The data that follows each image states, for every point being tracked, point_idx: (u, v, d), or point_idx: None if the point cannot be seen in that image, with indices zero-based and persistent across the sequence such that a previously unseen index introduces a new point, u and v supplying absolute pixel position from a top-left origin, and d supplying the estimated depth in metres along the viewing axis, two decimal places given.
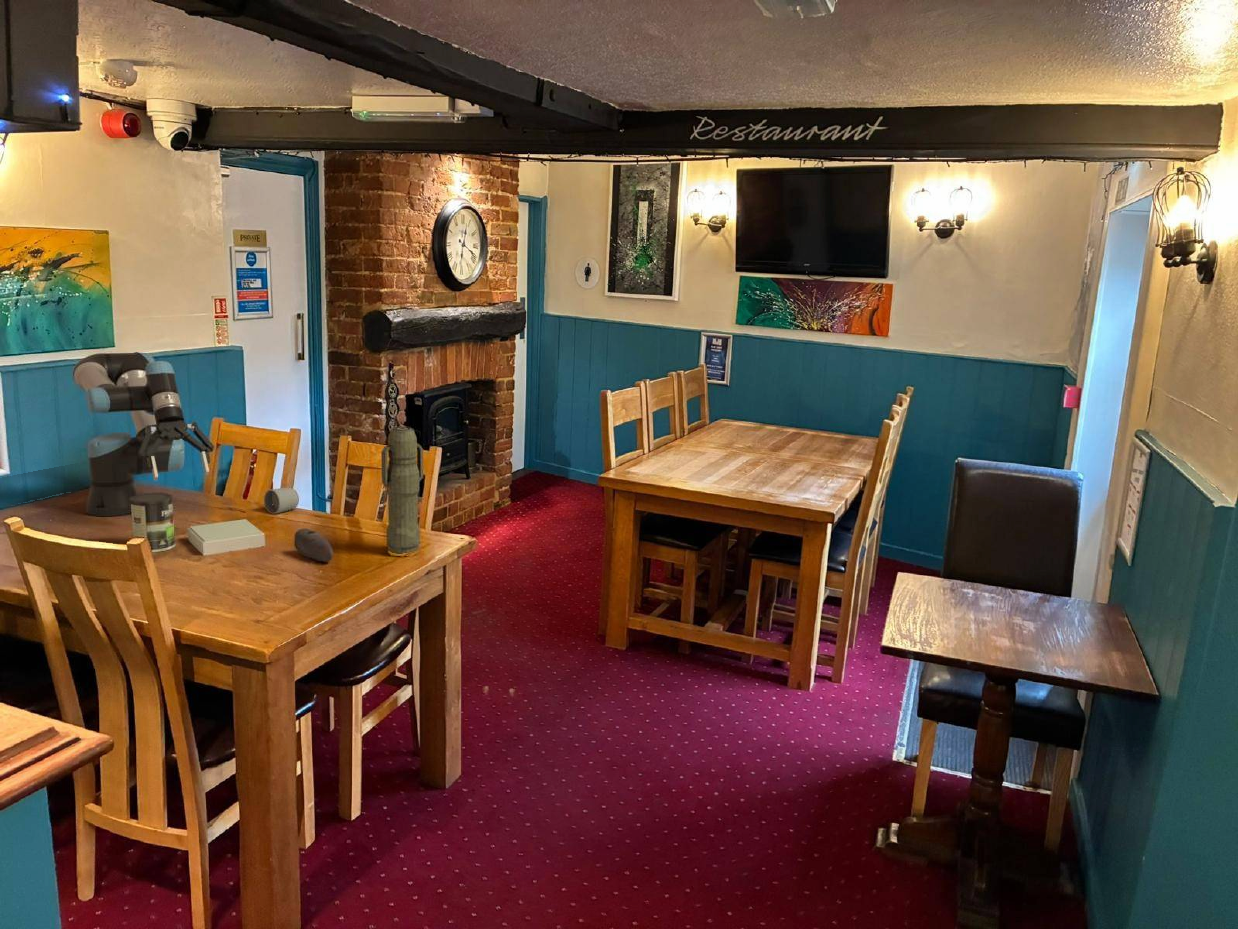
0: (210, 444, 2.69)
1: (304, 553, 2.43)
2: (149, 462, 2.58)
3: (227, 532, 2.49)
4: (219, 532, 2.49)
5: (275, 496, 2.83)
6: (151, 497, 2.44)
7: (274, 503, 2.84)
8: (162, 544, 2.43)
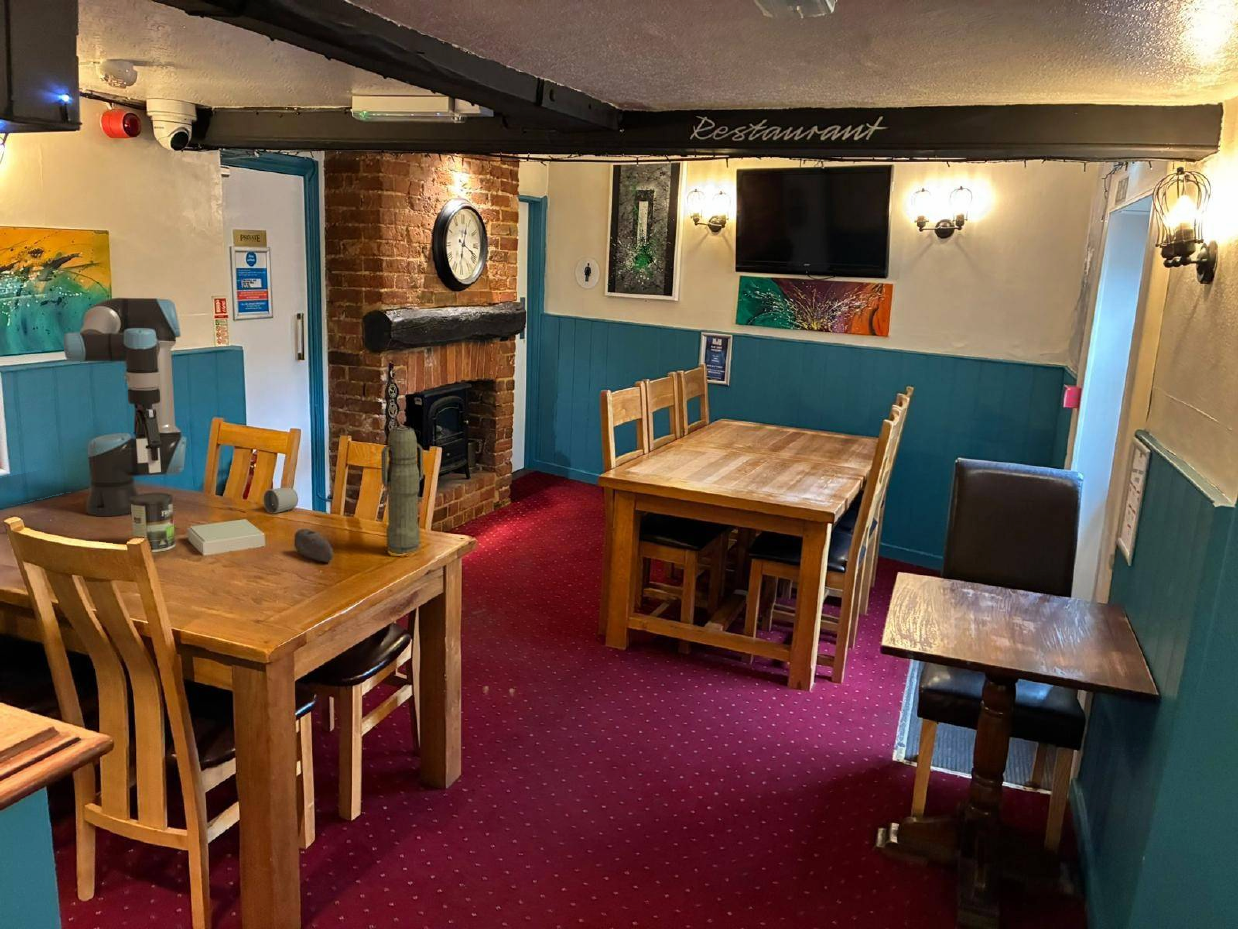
0: (149, 441, 2.33)
1: (304, 553, 2.43)
2: None
3: (227, 532, 2.49)
4: (219, 532, 2.49)
5: (274, 496, 2.83)
6: (151, 497, 2.44)
7: (273, 503, 2.84)
8: (162, 544, 2.43)
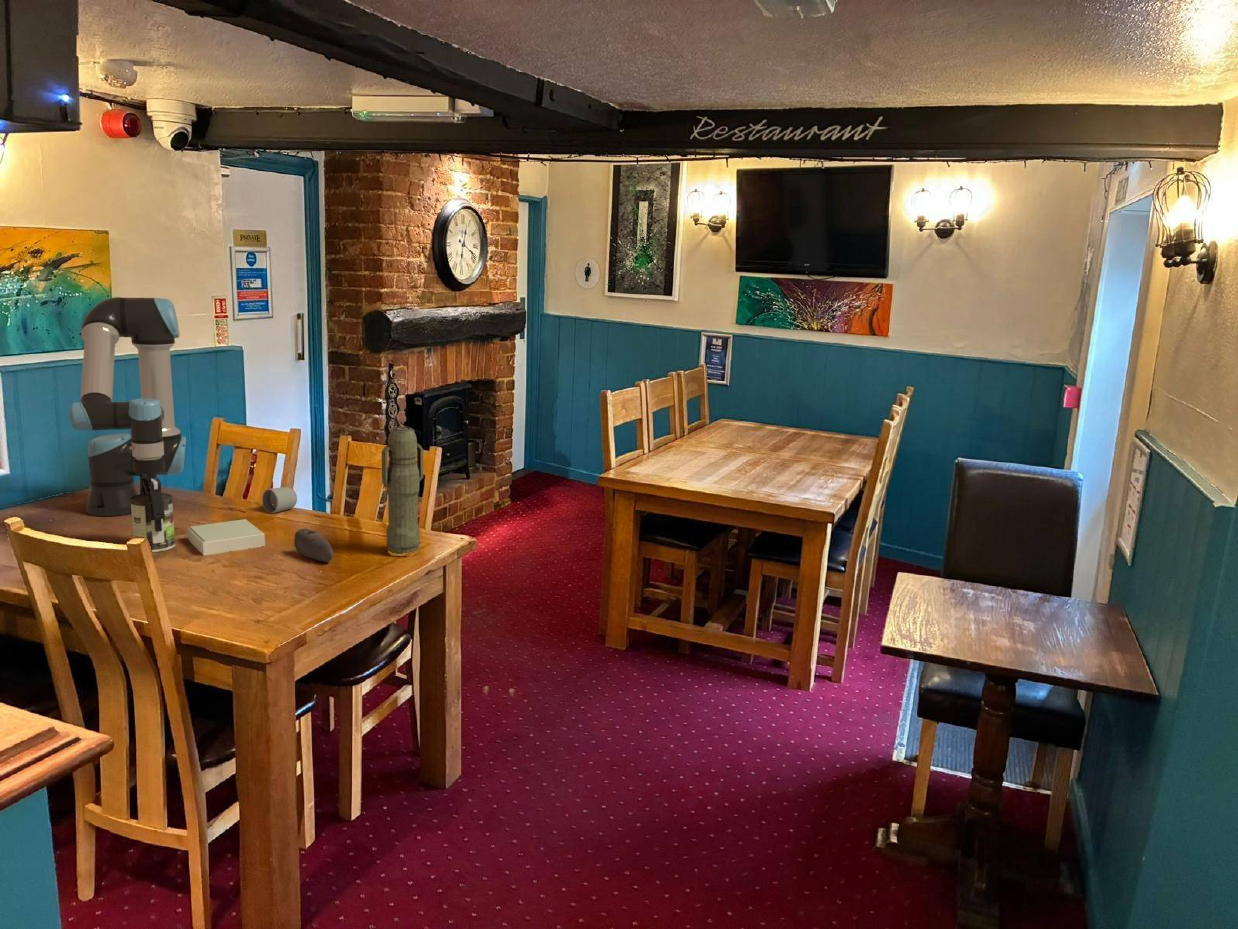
0: (153, 513, 2.38)
1: (304, 553, 2.43)
2: None
3: (227, 532, 2.49)
4: (219, 532, 2.49)
5: (273, 495, 2.83)
6: None
7: (272, 502, 2.84)
8: (162, 544, 2.43)
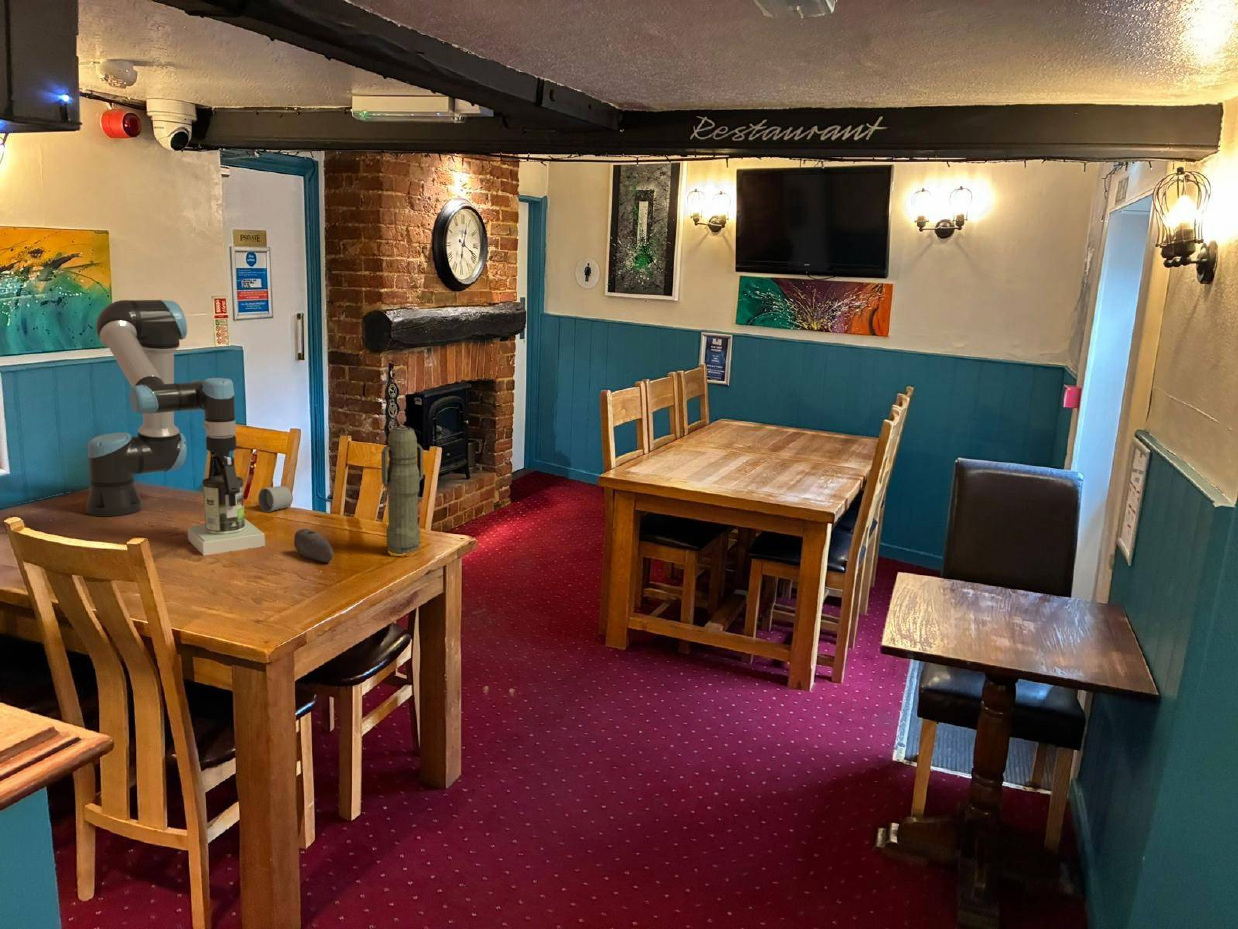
0: (228, 488, 2.41)
1: (304, 553, 2.43)
2: None
3: None
4: None
5: (269, 494, 2.85)
6: None
7: (268, 501, 2.85)
8: (234, 526, 2.49)
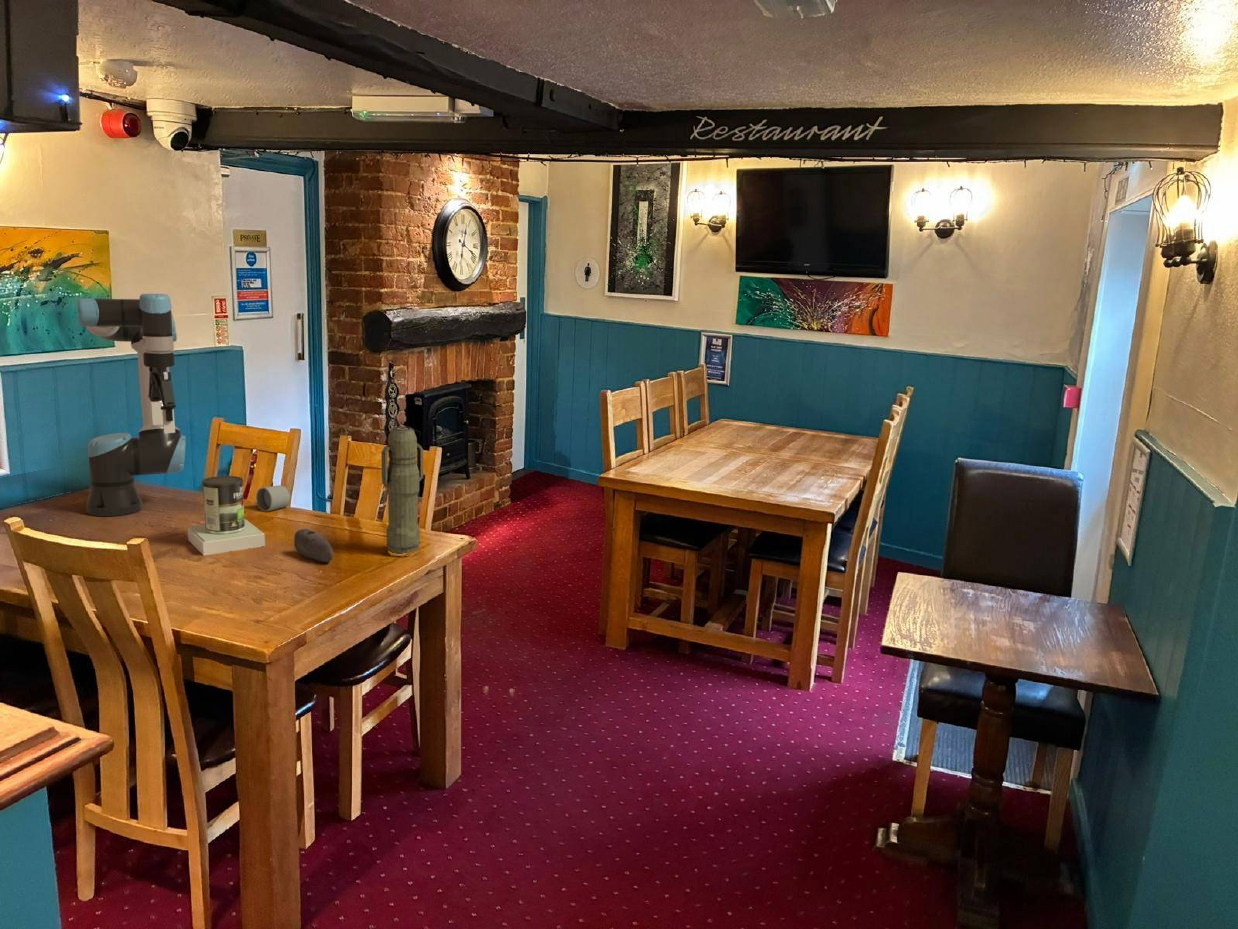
0: (164, 402, 2.41)
1: (304, 553, 2.43)
2: None
3: None
4: None
5: (267, 494, 2.85)
6: (222, 480, 2.49)
7: (266, 501, 2.86)
8: (234, 526, 2.49)
